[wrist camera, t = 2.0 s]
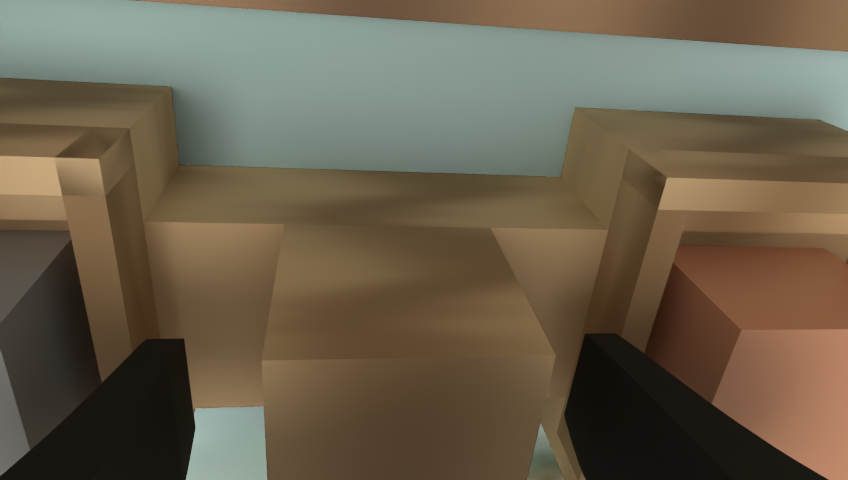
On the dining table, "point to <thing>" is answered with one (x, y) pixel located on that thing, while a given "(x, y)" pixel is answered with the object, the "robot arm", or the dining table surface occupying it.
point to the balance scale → (398, 267)
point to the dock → (608, 17)
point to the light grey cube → (40, 339)
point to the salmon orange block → (763, 344)
